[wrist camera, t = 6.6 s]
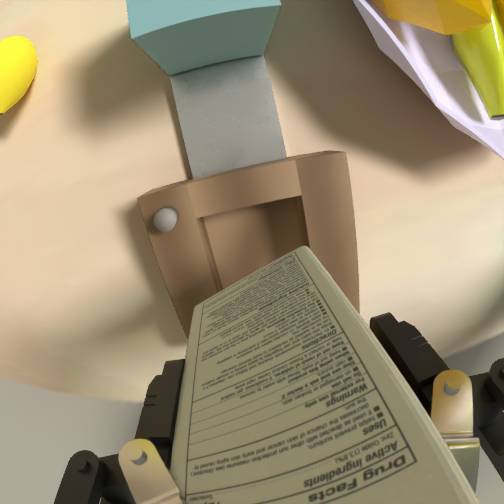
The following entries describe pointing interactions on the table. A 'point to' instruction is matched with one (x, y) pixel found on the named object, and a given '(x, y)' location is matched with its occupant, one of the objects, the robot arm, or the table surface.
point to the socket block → (252, 225)
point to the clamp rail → (228, 115)
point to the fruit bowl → (449, 57)
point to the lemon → (15, 69)
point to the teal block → (201, 30)
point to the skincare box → (301, 402)
